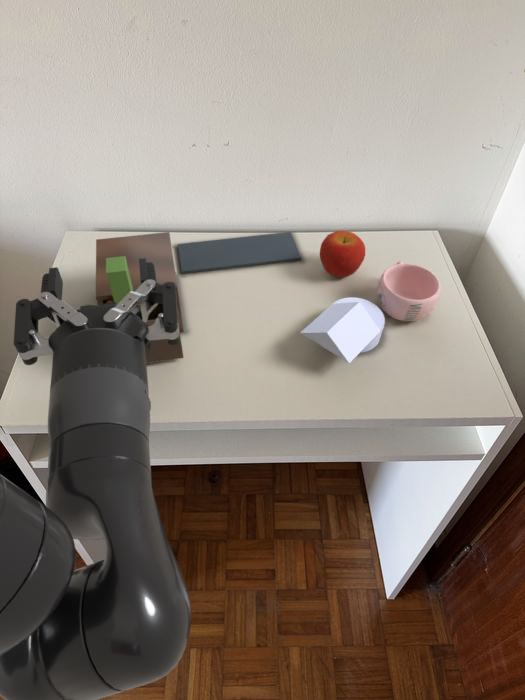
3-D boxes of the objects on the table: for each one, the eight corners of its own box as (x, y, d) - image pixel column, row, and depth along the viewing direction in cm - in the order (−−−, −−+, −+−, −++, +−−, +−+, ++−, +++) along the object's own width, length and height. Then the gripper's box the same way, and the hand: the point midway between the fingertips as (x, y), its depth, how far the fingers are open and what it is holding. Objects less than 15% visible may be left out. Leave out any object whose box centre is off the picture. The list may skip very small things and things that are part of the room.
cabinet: (183, 331, 80) (177, 287, 72) (109, 341, 78) (95, 297, 71) (175, 276, 88) (169, 231, 81) (108, 284, 87) (96, 239, 79)
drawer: (184, 364, 74) (179, 328, 68) (113, 374, 73) (101, 338, 67) (175, 301, 83) (170, 265, 77) (111, 309, 81) (101, 272, 75)
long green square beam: (127, 350, 74) (105, 272, 63) (126, 335, 76) (105, 258, 65) (144, 347, 75) (126, 270, 63) (143, 333, 77) (125, 255, 65)
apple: (366, 282, 89) (375, 247, 83) (324, 288, 87) (330, 252, 81) (352, 255, 94) (359, 220, 88) (312, 260, 92) (316, 225, 86)
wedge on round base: (345, 377, 74) (390, 330, 81) (353, 348, 69) (400, 300, 76) (298, 347, 78) (345, 304, 85) (302, 317, 73) (351, 274, 80)
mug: (439, 327, 82) (451, 301, 77) (380, 330, 81) (388, 303, 77) (419, 279, 90) (428, 253, 85) (365, 280, 89) (371, 254, 84)
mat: (182, 274, 89) (181, 271, 88) (177, 246, 94) (177, 244, 93) (300, 260, 92) (301, 257, 92) (290, 234, 97) (290, 231, 97)
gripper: (185, 356, 38) (167, 230, 48) (-14, 385, 36) (12, 246, 46) (193, 411, 44) (175, 288, 54) (22, 439, 41) (38, 305, 52)
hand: (100, 269), depth 50 cm, fingers open, 8 cm apart
